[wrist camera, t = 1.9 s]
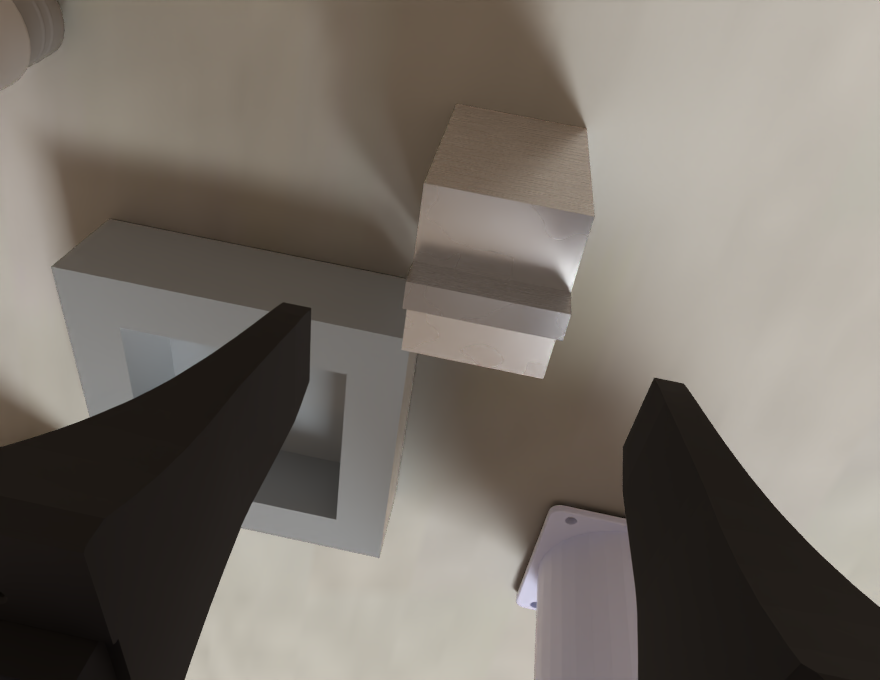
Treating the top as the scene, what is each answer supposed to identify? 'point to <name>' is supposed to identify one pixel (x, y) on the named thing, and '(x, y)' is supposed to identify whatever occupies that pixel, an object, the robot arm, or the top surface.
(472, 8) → the top surface
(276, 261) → the well block
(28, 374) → the top surface
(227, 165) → the top surface
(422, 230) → the bracket
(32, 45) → the lightbulb
